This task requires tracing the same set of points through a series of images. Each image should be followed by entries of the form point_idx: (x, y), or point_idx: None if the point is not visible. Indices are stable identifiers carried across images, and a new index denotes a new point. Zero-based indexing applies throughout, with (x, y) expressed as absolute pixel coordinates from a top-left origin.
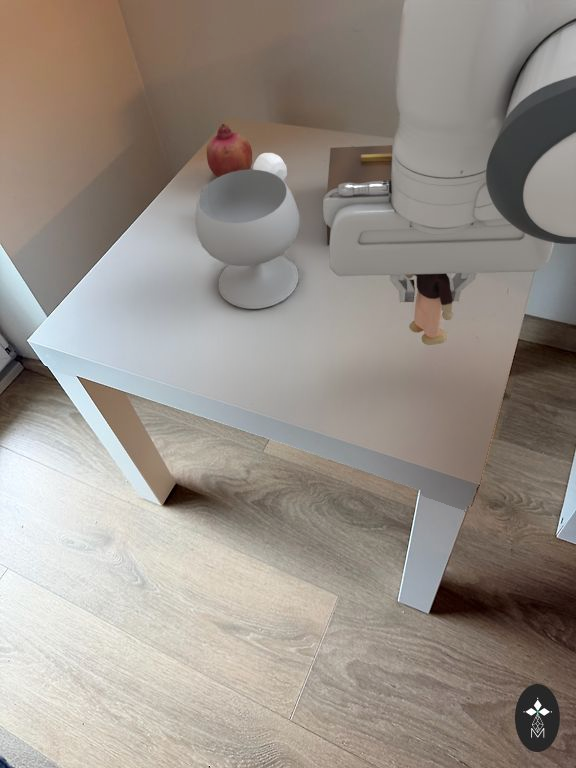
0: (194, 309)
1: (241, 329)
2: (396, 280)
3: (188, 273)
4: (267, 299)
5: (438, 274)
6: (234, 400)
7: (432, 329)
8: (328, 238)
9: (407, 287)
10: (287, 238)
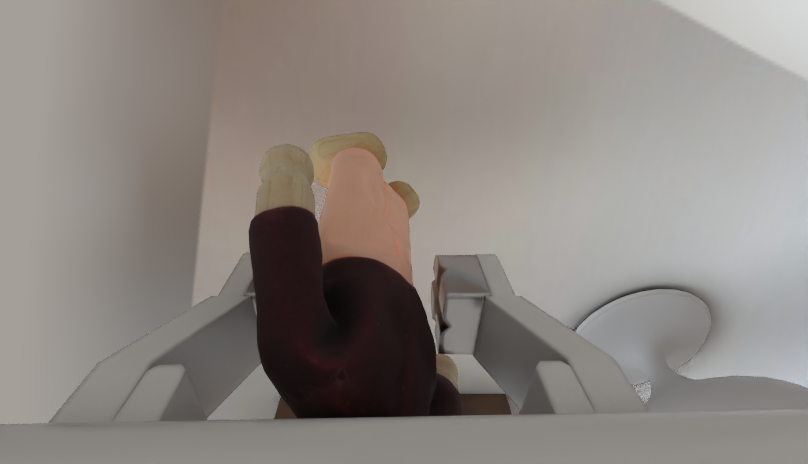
0: (766, 289)
1: (698, 248)
2: (578, 358)
3: (744, 354)
4: (637, 305)
5: (326, 398)
6: (782, 73)
7: (355, 162)
8: (507, 407)
9: (476, 317)
10: None
